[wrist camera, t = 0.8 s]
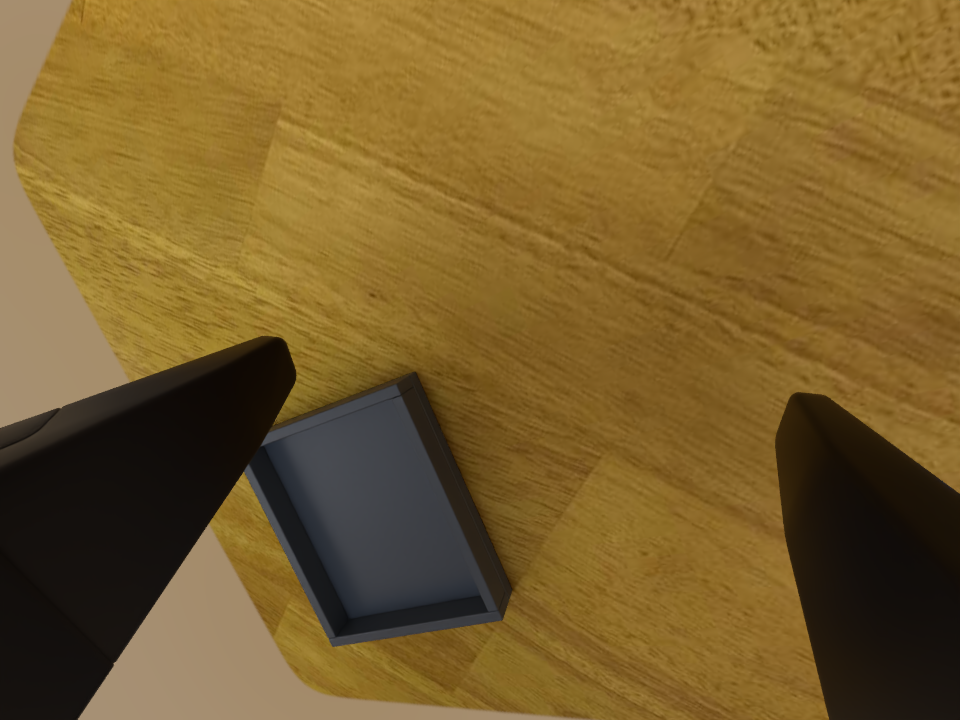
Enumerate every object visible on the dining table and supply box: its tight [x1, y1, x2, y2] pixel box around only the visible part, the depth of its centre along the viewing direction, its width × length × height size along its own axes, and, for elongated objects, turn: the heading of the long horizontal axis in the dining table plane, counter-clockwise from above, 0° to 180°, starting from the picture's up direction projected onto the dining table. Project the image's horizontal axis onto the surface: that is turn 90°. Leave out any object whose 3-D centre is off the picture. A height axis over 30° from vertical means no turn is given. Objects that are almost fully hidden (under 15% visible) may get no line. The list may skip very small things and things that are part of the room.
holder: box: [244, 372, 512, 647], centre depth 27 cm, size 13×11×2 cm
